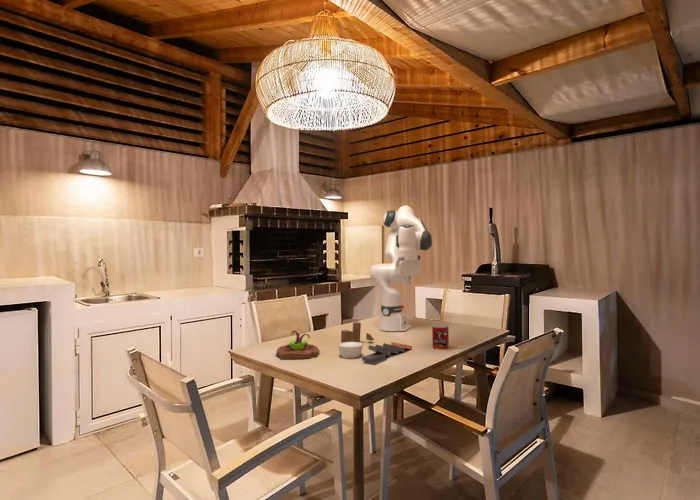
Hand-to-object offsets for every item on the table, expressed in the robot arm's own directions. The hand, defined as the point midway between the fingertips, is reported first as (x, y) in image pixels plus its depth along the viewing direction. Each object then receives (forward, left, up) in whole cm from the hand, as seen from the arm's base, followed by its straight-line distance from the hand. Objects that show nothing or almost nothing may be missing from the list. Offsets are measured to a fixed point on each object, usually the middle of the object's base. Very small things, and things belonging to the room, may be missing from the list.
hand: (408, 284), depth 206 cm
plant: (+43, -36, -31) cm, 64 cm away
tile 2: (+17, +2, -30) cm, 34 cm away
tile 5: (+29, +3, -31) cm, 42 cm away
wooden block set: (+12, -25, -31) cm, 41 cm away
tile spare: (+6, +3, -30) cm, 30 cm away
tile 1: (+12, +3, -30) cm, 32 cm away
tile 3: (+23, +2, -30) cm, 38 cm away
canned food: (-5, +15, -31) cm, 34 cm away
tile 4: (+28, +2, -29) cm, 41 cm away
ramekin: (+32, -12, -31) cm, 46 cm away
